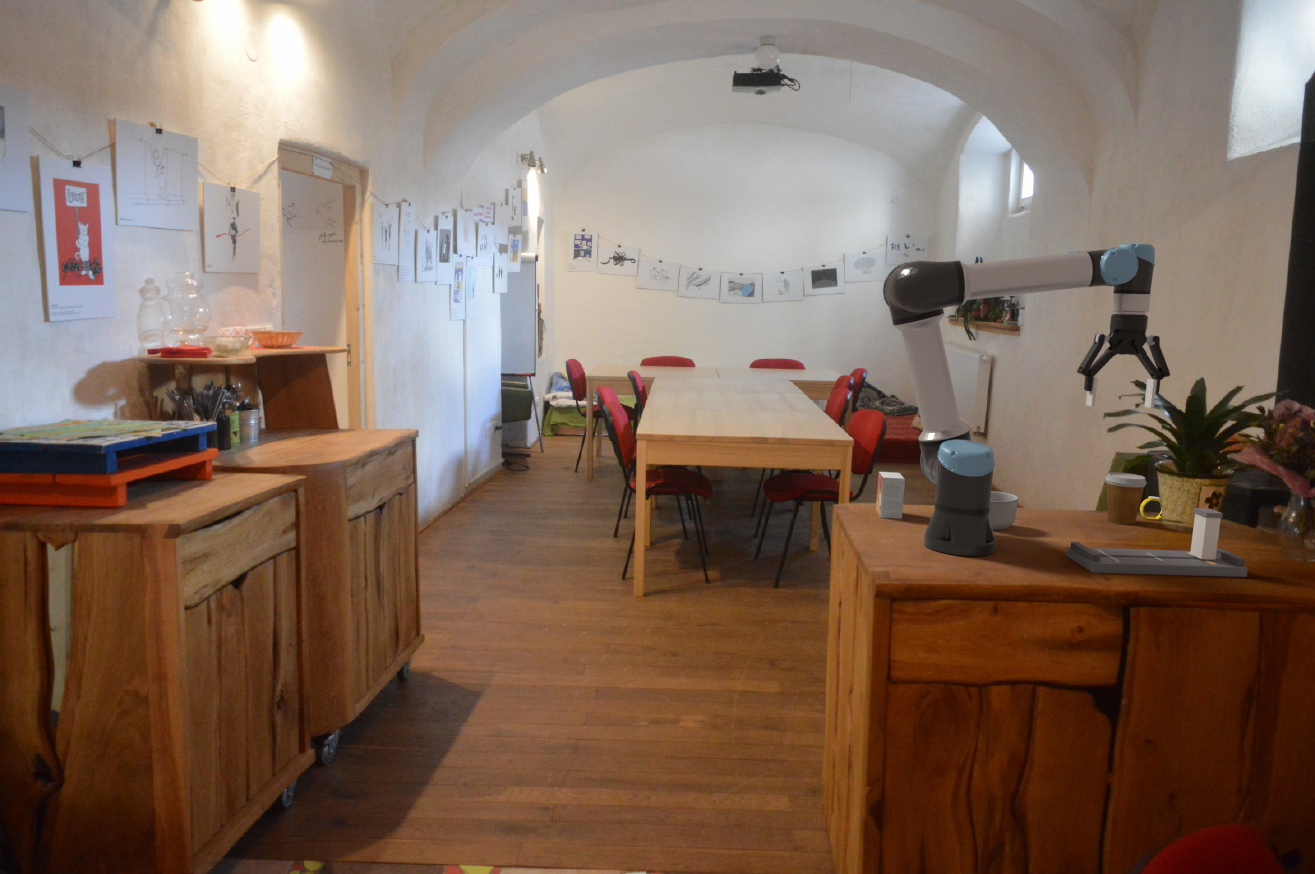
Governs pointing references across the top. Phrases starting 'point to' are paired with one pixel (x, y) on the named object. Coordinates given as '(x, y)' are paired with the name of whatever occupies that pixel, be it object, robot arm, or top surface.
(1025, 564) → the top surface
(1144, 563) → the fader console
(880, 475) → the small box
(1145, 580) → the top surface
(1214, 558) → the fader knob
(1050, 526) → the top surface
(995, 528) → the teacup
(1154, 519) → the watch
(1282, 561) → the top surface
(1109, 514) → the disposable coffee cup
